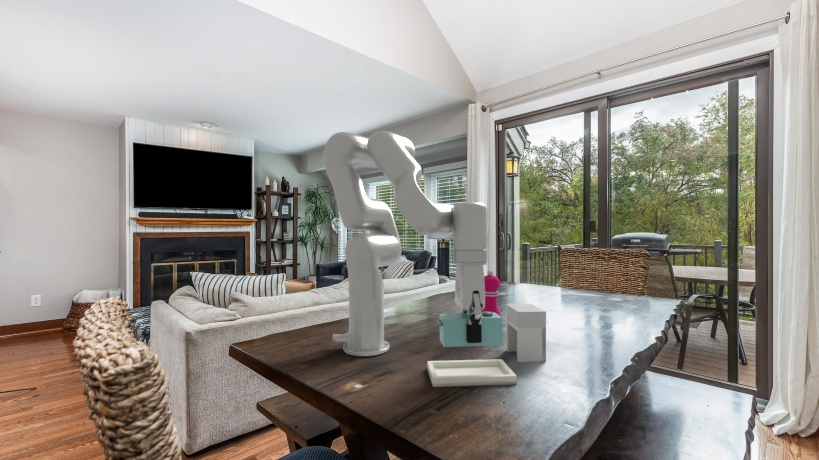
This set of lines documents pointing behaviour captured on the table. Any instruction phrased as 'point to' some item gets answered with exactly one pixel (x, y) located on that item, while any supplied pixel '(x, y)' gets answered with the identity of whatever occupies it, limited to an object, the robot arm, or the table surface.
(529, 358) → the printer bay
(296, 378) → the table surface
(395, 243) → the robot arm
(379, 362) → the table surface
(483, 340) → the mint rectangular box
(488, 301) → the pepper mill
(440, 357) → the table surface
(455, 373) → the tray
